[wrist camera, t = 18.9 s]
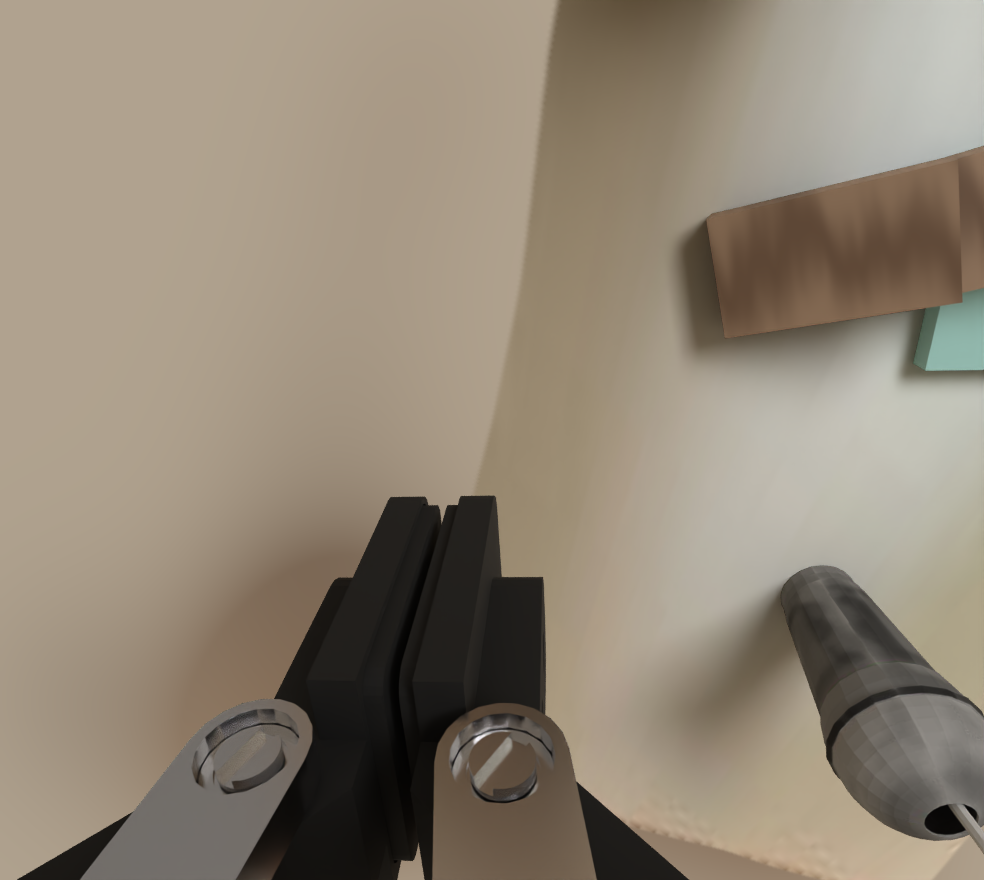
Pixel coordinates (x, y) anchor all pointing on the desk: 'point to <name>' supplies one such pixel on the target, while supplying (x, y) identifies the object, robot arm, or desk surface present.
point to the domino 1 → (840, 251)
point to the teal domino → (953, 335)
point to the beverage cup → (887, 712)
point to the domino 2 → (971, 217)
